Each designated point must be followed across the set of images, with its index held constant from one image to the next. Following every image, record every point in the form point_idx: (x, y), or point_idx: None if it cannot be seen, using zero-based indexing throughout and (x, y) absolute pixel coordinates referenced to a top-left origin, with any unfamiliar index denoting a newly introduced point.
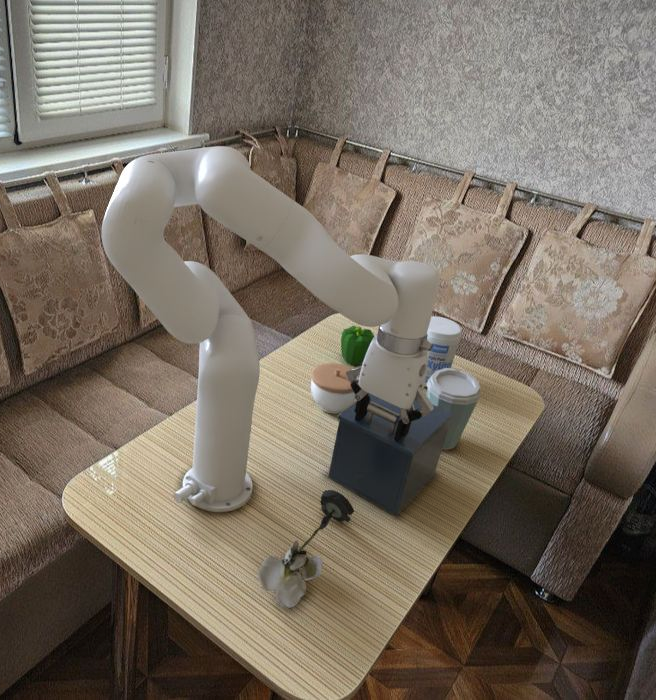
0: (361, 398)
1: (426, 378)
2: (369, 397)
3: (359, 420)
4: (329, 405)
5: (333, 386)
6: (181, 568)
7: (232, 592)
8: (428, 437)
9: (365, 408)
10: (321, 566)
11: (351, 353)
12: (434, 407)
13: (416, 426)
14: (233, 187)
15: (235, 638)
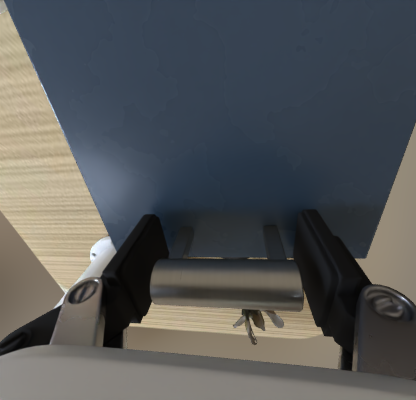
0: (125, 340)
1: None
2: (118, 269)
3: (168, 251)
4: (5, 5)
5: None
6: (186, 319)
7: (226, 316)
8: (407, 140)
9: (149, 258)
10: (278, 316)
11: None
12: None
13: (331, 113)
14: None
15: (253, 333)
